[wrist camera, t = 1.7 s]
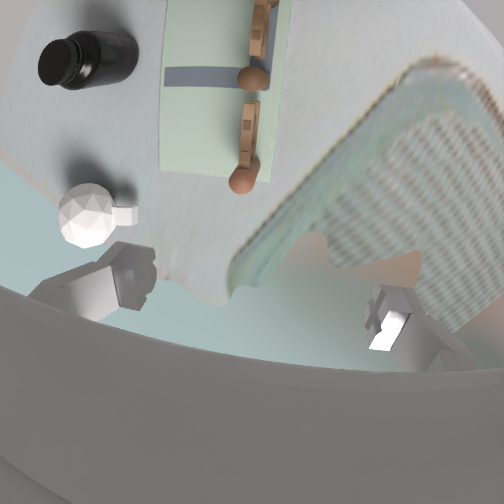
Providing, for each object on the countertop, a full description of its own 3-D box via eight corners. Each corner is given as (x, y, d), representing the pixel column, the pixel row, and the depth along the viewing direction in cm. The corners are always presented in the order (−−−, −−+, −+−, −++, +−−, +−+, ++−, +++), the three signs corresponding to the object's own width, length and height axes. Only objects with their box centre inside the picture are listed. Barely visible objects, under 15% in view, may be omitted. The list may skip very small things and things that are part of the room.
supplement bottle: (93, 47, 26) (27, 48, 16) (136, 26, 25) (74, 15, 15) (101, 91, 30) (36, 105, 20) (144, 74, 28) (83, 78, 18)
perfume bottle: (79, 237, 40) (146, 240, 41) (46, 252, 32) (121, 258, 32) (77, 182, 38) (146, 180, 39) (42, 187, 29) (119, 183, 30)
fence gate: (245, 99, 28) (234, 102, 23) (267, 101, 28) (262, 105, 23) (238, 173, 33) (228, 192, 28) (259, 176, 33) (252, 195, 28)
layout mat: (170, -11, 22) (169, -12, 22) (293, -12, 21) (293, -13, 21) (160, 170, 35) (159, 171, 35) (270, 182, 34) (269, 183, 34)
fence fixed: (269, 91, 28) (263, 92, 23) (247, 89, 29) (236, 90, 23) (280, -7, 22) (277, -29, 16) (258, -9, 22) (249, -30, 16)
